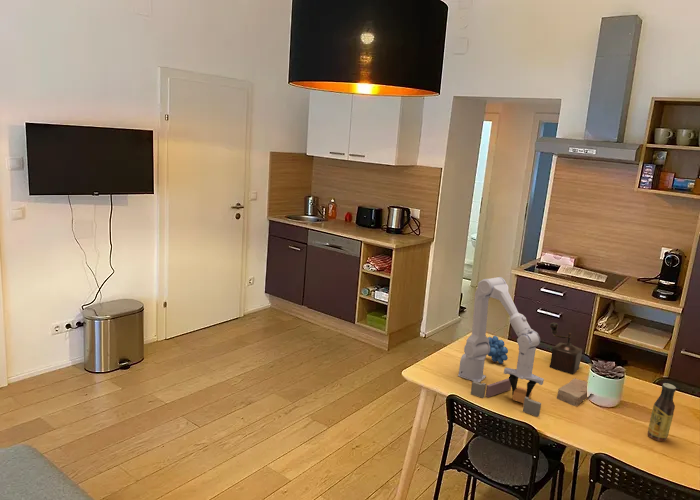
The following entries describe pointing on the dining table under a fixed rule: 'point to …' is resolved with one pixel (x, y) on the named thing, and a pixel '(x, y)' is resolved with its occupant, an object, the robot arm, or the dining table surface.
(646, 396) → the dining table surface
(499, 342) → the grapes
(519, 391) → the orange brown block
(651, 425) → the sauce bottle
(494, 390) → the door
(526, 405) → the wall frame
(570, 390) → the brick
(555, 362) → the manual coffee grinder
